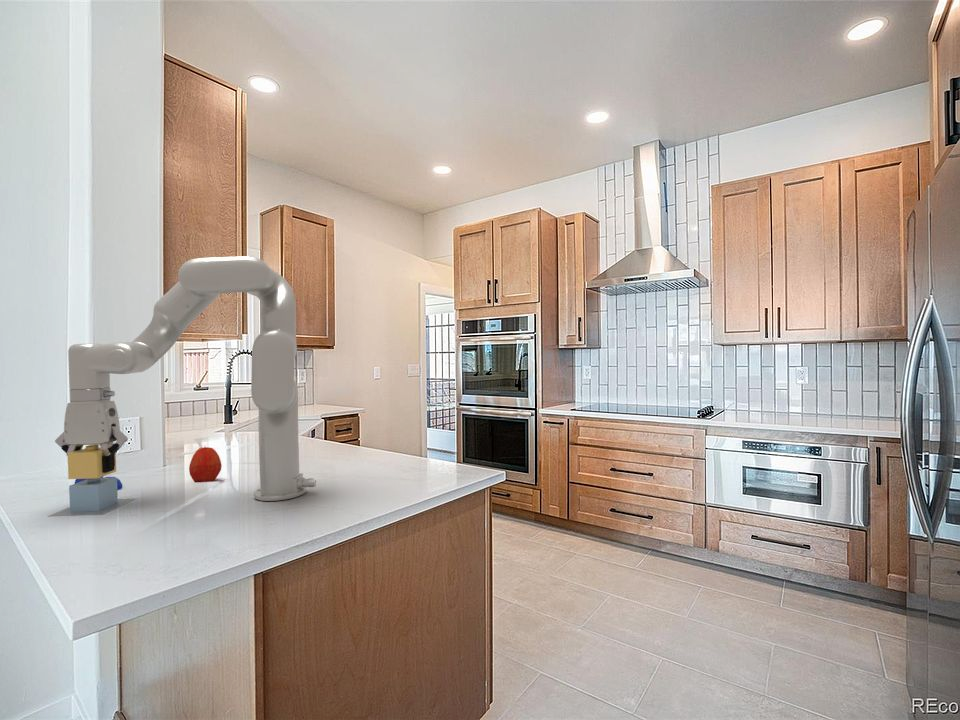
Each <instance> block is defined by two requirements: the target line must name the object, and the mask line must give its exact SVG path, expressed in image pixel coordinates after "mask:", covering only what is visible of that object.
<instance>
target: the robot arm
mask: <svg viewBox="0 0 960 720" xmlns="http://www.w3.org/2000/svg"><path fill="white" fill-rule="evenodd" d="M177 278H178V282H177V283H176V284H174V285H173V286H172V287H171V288H170V289H169V290H168V291H167V292H166V293H165V294H164V295H163V296H161V297H160V298H159V299H158V300H157V301H156V302H155V303H154V306H153V313H152V314H153V316H152V318H151V320H150V323H149V324H148V325H147V326H146V328H145V329H144V330H143V331H142V332H140V334H139V335H138V336H137V337H136V338H134V339H133V340H132V341H131V342H129V341H127V342H123V341H122V342H121V341H119V342H112V343H105V344H103V343H76V344H74V343H73V344H72V345H70V346H69V348H68V351H67V354H68V356H67V357H68V361H67V362H68V383H69V384H68V388H69V402H67V404H66V408H65V412H64V413H65V414H64V423H63V432H62V433H61V434H60V435H59V436H58V437H56V438H55V441H54V443H56V444H57V445H58V446H59V448H60V449H61V450H62V451H63V452H64V453H66V454H65V455H66V457H68V453H70V452H74V451H77V450H81V449H84V446H89V445H99V446H100V447H101V448H102V450H103V452H104V454H105V456H102V471H103V473H107V472H110V471H113V470H114V467H115V453H116V454H117V453H118V451H119V450H120V449H121V448H122V446H123V445H124V444H125V443H126V442H127V441H128V439H129V437H128V436H127V435H125V434H124V433H123V432H122V431H121V426H120V420H119V419H120V418H119V413H118V408H117V405H116V403H115V400H111V399H112V397H115V396H116V392H115V390H111V381H110V380H111V378H110V377H111V375H110V374H113V375H114V374H115V375H129V374H137V373H143V372H145V371H147V370H149V369H150V368H151V367H153V366H154V365H155V364H156V363H157V362H158V361H159V360H160V359H161V358H162V357H164V355H166V354H167V352H169V351H170V349H171V348H172V347H174V345H175V343H176V342H177V341H178V340H179V339H180V337H181V336H182V335H183V334H184V332H185V330H186V329H187V328H188V327H189V325H191V323H193V322H194V321H195V320H196V318H198V317H199V316H200V315H201V313H203V311H205V310H206V309H207V308H208V307H209V306H210V305H211V304H212V303H213V302H214V301H215V300H216V299H218V297H220V295H221V294H231V293H232V294H233V293H248V294H249V295H251V296H254V297H256V298H258V300H259V302H260V331H259V332H260V333H259V334H258V335H257V336H256V338H255V340H254V341H253V344H252V348H251V383H250V385H251V387H250V389H251V391H250V392H251V399H252V401H253V404H254V405H255V407H256V408H258V454H259V455H258V456H259V459H258V460H259V488H258V489H256V490H255V491H254V492H253V498H254V499H255V500H256V501H260V502H261V501H263V502H275V501H276V502H277V501H284V500H290V499H293V498H294V499H295V498H297V497H300V496H302V495H304V494H305V493H306V492H307V488H315V487H316V486H317V480H316V479H314V477H313V478H311V477H310V478H305V477H304V473H300V447H299V446H300V443H299V442H300V441H299V389H298V385H297V383H296V381H295V358H296V356H297V351H298V345H297V309H296V308H297V305H296V297H295V293H294V290H293V288H292V286H291V285H290V283H289V282H288V281H287V280H286V278H285V277H283V276H282V275H281V274H279V273H278V272H276V271H275V270H274V269H271V267H270V266H269V265H268V264H267V263H266V262H265V261H264V260H262V259H260V258H258V257H255V256H249V255H247V256H246V255H245V256H244V255H243V256H221V257H220V256H217V257H214V256H213V257H197V258H196V257H195V258H191V259H189V260H187V261H185V262H184V263H183V264H182V265H181V266H180V267H179V270H178V273H177ZM114 442H115V443H114Z"/></svg>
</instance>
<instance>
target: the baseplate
mask: <svg viewBox="0 0 960 720" xmlns="http://www.w3.org/2000/svg"><path fill="white" fill-rule="evenodd" d="M137 499H138V498H136V497H135V498H134V497H133V498H132V497H131V498H118V502H117V503H115V504H113V505H111V506H108V507H106V508H104V509H102V510H100V511H78V512H70V506H69V507H66V508H65V509H62V510H60V511H57V512H55V513H52V514H49V515H47V517H48V518H49V517H50V518H51V517H69V516H70V517H73V516H74V517H75V516H94V515H95V516H97V515H98V516H99V515H102V516H103V515H106V514H107V513H109V512H111V511H113V510H115V509H118V508H120V507H122V506H124V505H126V504H129V503H131V502H132V501H135V500H137Z"/></svg>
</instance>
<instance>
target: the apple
mask: <svg viewBox="0 0 960 720" xmlns="http://www.w3.org/2000/svg"><path fill="white" fill-rule="evenodd" d="M222 466H223V465H222V460H221V456H220V455H219V453H218V452H217V451H216V449H215V448H213V447H209V446H204V447H199V448H198V449H196V451H194V454H193V455H192V457H191V461H190V463H189V467H188V470H189V476H190V477H191V479H192V480H193V482H194V483H212V482H214V481H216V480H217V478H218V476H219V474H220V473H221V471H222Z"/></svg>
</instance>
